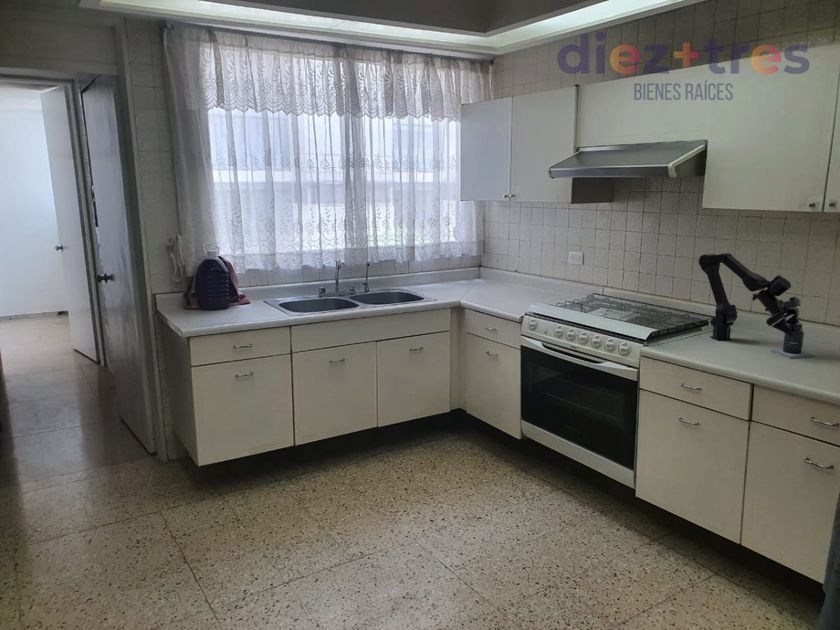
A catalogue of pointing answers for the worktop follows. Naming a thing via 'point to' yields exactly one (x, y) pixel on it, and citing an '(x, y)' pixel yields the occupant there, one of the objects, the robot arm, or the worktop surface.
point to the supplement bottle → (794, 339)
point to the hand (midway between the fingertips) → (797, 333)
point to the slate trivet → (791, 356)
